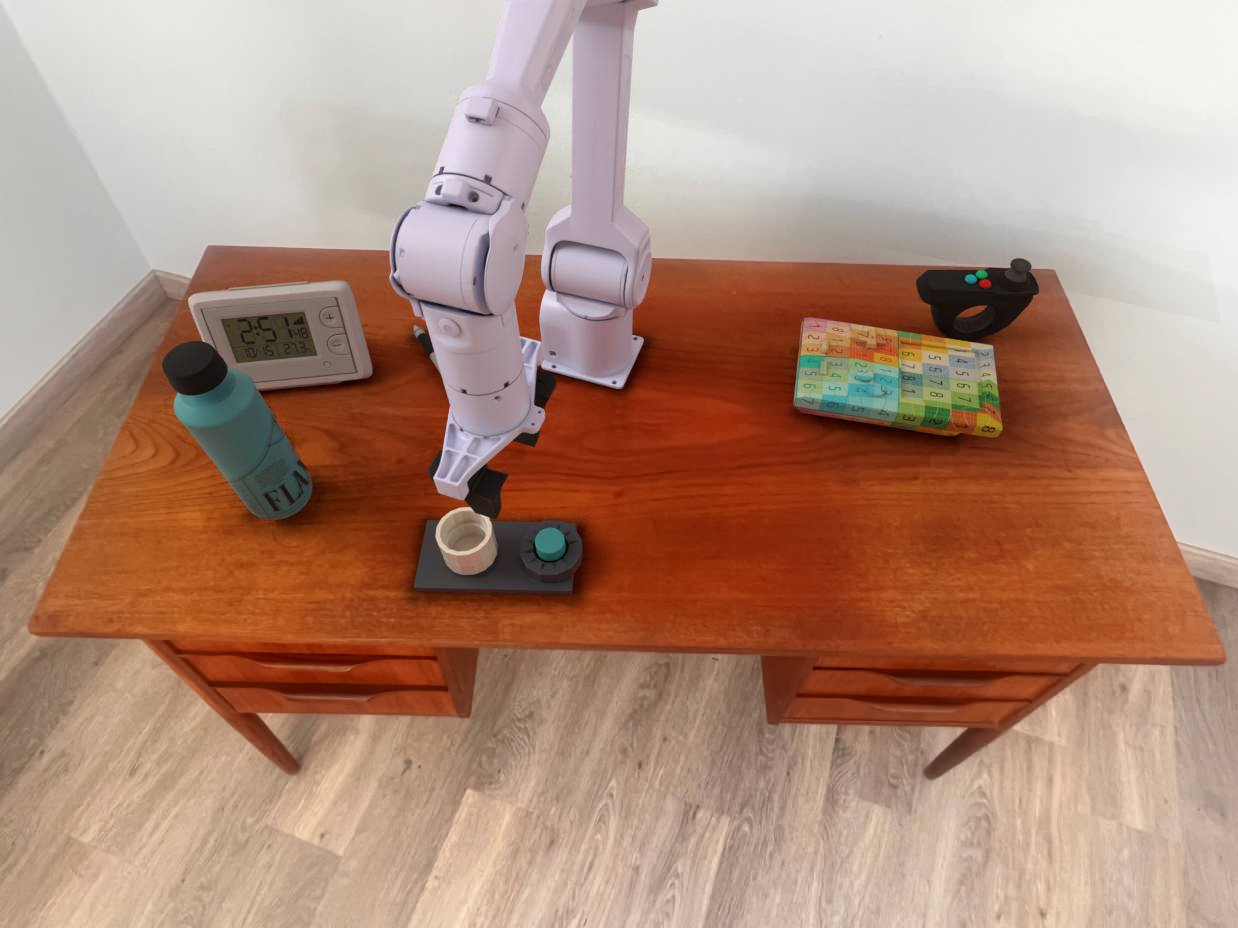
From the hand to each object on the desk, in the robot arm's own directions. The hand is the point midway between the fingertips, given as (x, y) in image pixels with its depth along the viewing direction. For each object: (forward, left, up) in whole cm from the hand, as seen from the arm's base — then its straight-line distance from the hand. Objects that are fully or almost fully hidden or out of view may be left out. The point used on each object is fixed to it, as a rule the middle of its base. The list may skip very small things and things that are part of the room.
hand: (506, 475), depth 62 cm
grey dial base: (-1, -3, -9) cm, 10 cm away
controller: (+36, +41, -10) cm, 55 cm away
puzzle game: (+30, +29, -10) cm, 43 cm away
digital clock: (-31, +11, -10) cm, 34 cm away
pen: (-16, +16, -10) cm, 24 cm away
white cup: (-3, -4, -8) cm, 10 cm away
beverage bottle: (-23, -4, -10) cm, 25 cm away
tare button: (+4, -2, -7) cm, 8 cm away
